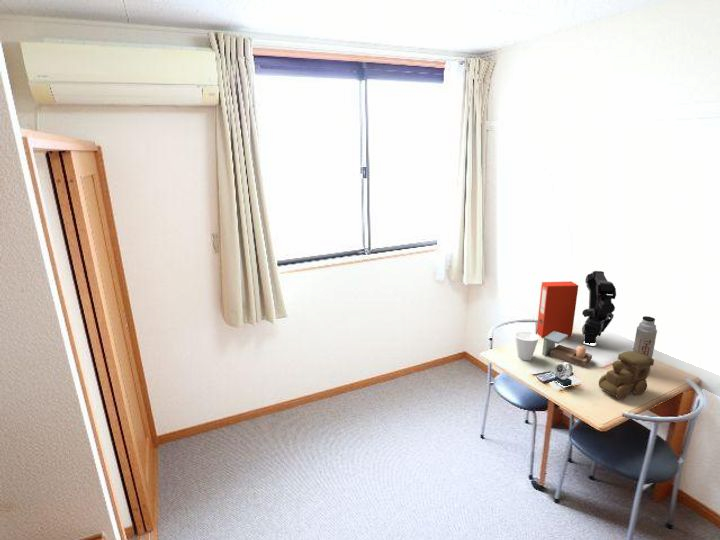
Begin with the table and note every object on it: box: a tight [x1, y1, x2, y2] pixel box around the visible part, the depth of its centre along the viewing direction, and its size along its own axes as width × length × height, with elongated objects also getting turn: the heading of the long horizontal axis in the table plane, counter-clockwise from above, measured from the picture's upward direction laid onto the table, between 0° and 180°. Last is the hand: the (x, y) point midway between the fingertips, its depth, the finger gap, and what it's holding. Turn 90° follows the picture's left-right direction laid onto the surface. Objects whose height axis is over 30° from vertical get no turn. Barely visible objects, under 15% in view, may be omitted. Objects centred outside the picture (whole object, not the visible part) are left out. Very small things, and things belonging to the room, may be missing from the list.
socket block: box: [549, 344, 593, 369], centre depth 216 cm, size 10×17×4 cm, turn 42°
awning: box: [541, 331, 569, 357], centre depth 222 cm, size 12×8×10 cm, turn 132°
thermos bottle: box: [632, 315, 658, 375], centre depth 200 cm, size 8×8×28 cm
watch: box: [554, 361, 574, 386], centre depth 192 cm, size 6×8×11 cm
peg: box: [576, 345, 587, 359], centre depth 213 cm, size 4×4×8 cm
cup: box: [514, 330, 540, 361], centre depth 218 cm, size 12×12×12 cm
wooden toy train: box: [598, 350, 655, 401], centre depth 185 cm, size 20×11×17 cm, turn 109°
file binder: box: [536, 280, 579, 339], centre depth 241 cm, size 8×17×32 cm, turn 90°
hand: (598, 334), depth 214 cm, fingers open, 9 cm apart
